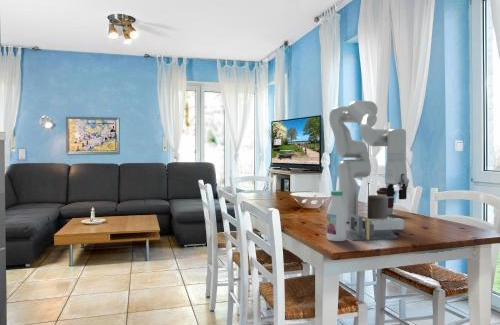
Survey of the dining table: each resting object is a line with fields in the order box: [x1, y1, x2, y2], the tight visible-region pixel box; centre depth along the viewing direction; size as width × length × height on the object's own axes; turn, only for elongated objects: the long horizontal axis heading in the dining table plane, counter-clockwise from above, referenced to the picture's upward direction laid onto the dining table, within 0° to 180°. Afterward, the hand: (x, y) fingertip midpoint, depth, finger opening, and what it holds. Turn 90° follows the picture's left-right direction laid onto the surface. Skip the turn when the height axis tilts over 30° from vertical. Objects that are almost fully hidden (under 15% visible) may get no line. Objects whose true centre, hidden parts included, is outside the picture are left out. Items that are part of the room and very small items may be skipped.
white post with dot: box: [369, 217, 405, 231], centre depth 157 cm, size 4×14×4 cm, turn 98°
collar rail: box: [346, 213, 399, 241], centre depth 156 cm, size 12×20×9 cm, turn 98°
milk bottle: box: [326, 190, 347, 242], centre depth 151 cm, size 8×8×20 cm
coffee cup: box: [376, 187, 396, 216], centre depth 209 cm, size 10×10×15 cm
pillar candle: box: [366, 193, 389, 219], centre depth 183 cm, size 10×10×15 cm
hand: (396, 197), depth 157 cm, fingers open, 9 cm apart
